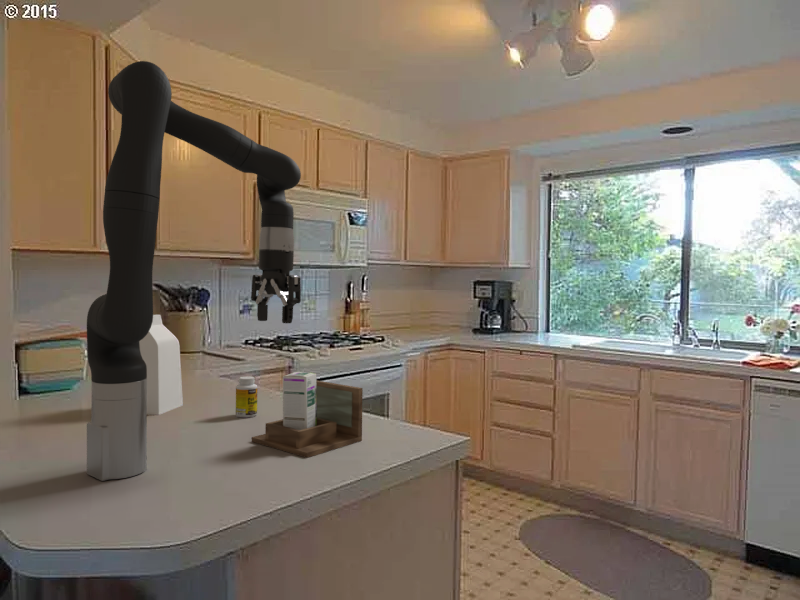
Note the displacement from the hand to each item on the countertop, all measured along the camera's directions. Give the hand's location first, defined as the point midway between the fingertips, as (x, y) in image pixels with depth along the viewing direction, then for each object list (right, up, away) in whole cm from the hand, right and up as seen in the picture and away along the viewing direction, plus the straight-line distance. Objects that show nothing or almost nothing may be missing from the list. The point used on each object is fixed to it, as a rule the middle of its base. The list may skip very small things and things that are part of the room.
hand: (274, 322), depth 127 cm
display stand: (+7, -27, +2) cm, 28 cm away
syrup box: (+6, -26, 0) cm, 27 cm away
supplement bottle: (-13, -26, +25) cm, 38 cm away
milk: (-41, -26, +31) cm, 57 cm away
